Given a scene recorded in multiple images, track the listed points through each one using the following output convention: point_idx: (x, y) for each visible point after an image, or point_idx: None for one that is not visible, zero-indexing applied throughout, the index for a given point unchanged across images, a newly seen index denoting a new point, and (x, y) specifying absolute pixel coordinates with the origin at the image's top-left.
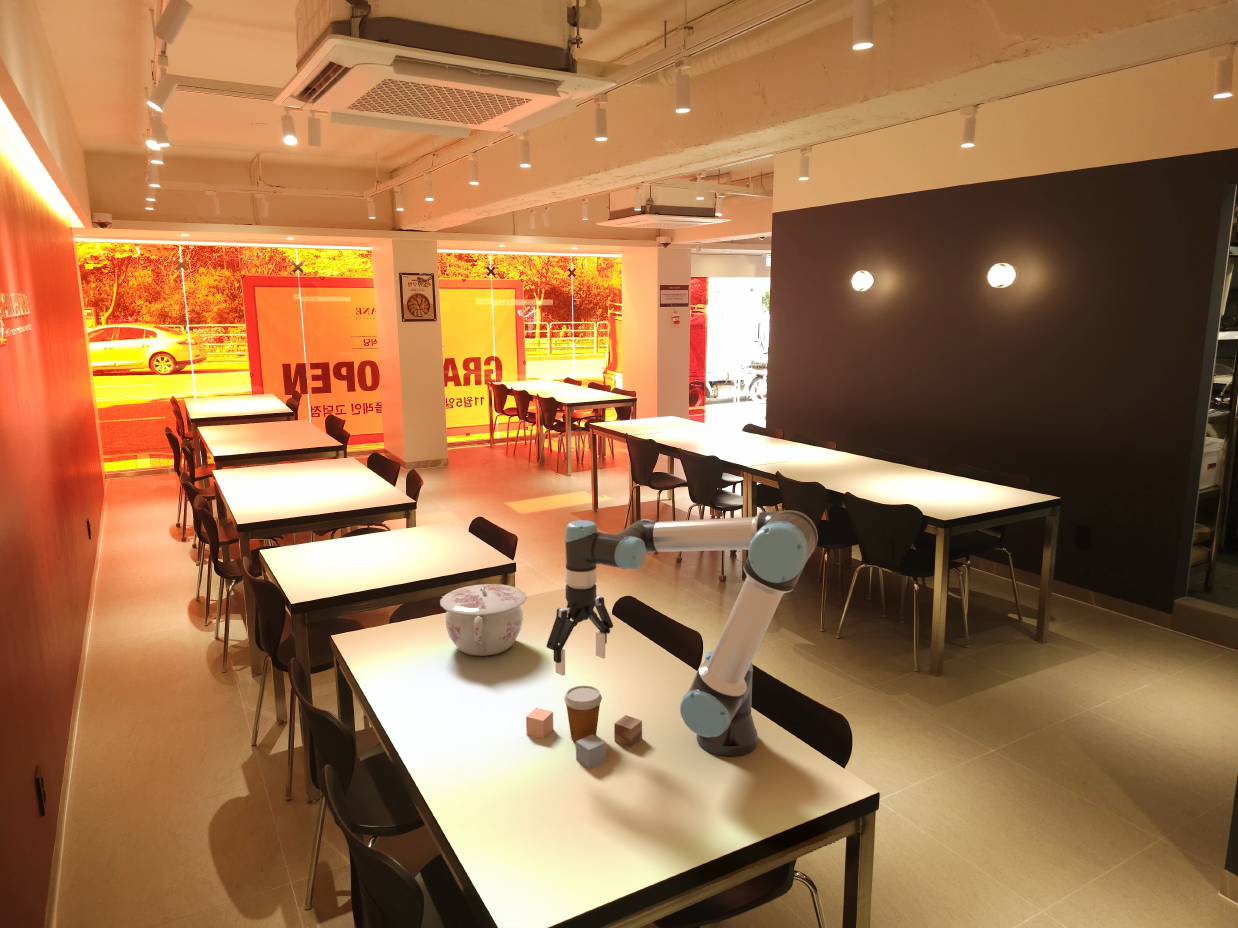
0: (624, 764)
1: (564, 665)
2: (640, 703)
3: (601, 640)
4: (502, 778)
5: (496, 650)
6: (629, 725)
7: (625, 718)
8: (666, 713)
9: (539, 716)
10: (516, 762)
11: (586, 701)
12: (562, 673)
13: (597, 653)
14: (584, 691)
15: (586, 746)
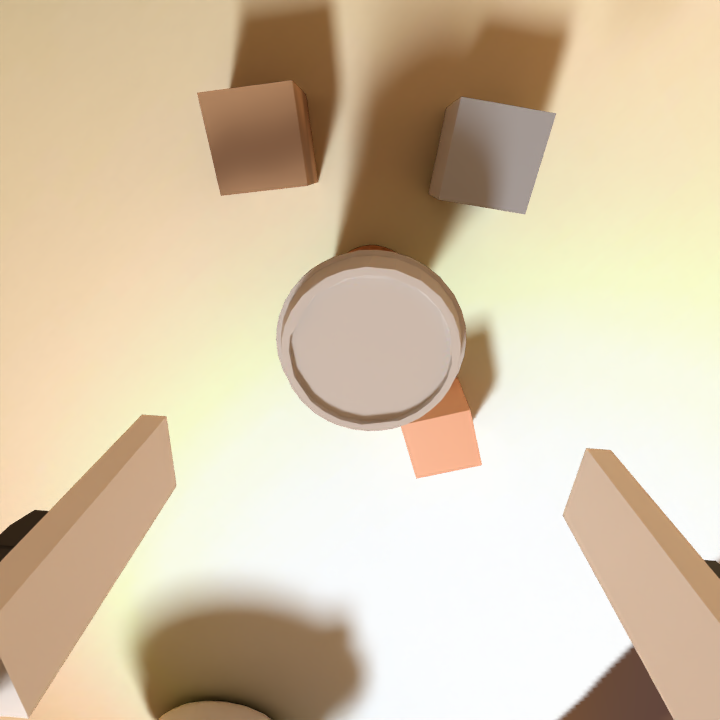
0: (420, 19)
1: (641, 508)
2: (67, 286)
3: (68, 561)
4: (711, 316)
5: (233, 714)
6: (272, 112)
7: (242, 174)
8: (24, 156)
9: (453, 436)
10: (613, 346)
11: (426, 284)
12: (619, 464)
13: (165, 485)
14: (340, 368)
15: (536, 145)
